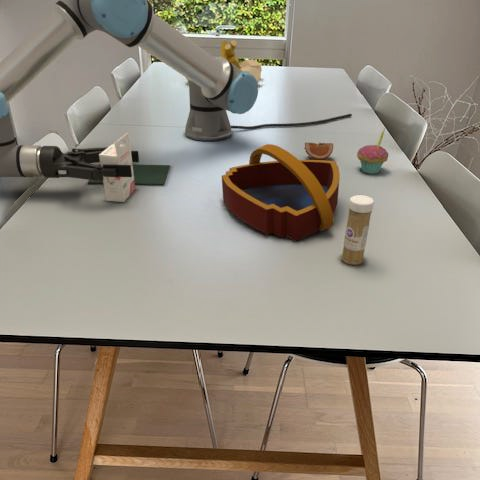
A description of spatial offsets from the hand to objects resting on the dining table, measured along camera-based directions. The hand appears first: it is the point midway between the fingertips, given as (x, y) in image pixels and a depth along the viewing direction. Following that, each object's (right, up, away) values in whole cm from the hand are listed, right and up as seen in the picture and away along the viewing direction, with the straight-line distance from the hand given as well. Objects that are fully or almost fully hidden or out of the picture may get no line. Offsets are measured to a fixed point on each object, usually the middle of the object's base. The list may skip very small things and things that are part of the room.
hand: (134, 163), depth 131 cm
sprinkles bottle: (+49, -26, -20) cm, 59 cm away
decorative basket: (+36, -11, 0) cm, 38 cm away
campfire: (+18, +68, +109) cm, 130 cm away
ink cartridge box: (-5, -7, +5) cm, 10 cm away
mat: (-4, +2, +16) cm, 17 cm away
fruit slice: (+49, +10, +29) cm, 58 cm away
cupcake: (+63, +4, +22) cm, 67 cm away
